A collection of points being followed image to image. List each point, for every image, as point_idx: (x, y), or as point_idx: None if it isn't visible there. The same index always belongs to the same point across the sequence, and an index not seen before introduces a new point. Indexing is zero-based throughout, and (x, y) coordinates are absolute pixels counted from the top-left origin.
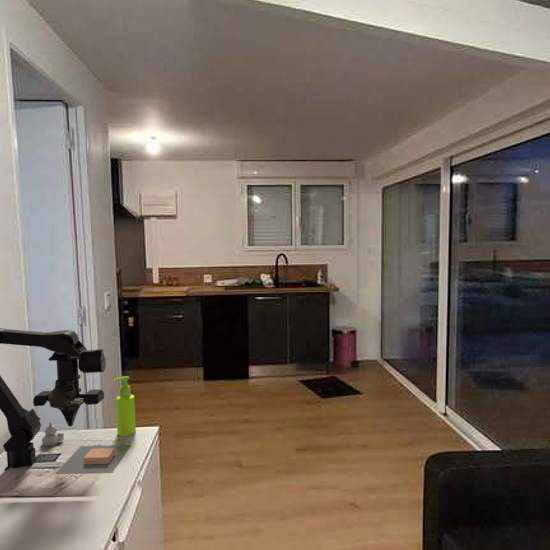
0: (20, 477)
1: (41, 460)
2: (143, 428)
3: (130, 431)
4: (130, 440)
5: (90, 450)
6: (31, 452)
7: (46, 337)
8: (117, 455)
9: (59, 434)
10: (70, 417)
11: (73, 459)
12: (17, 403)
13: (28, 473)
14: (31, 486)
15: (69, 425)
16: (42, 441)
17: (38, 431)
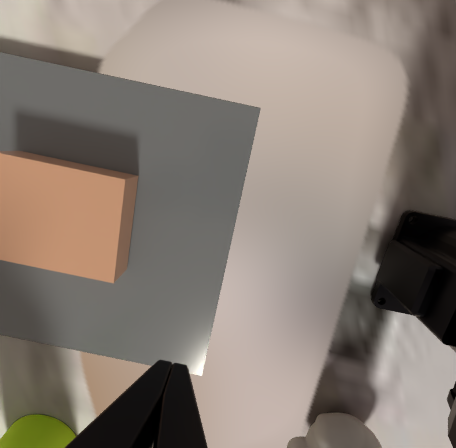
0: (421, 145)
1: (351, 299)
2: None
3: (1, 441)
4: (13, 389)
5: (112, 263)
6: (424, 268)
7: None
8: None
9: None
10: (114, 442)
11: (203, 249)
12: None
13: (390, 180)
14: (354, 25)
15: (175, 368)
16: (377, 442)
17: (451, 417)
